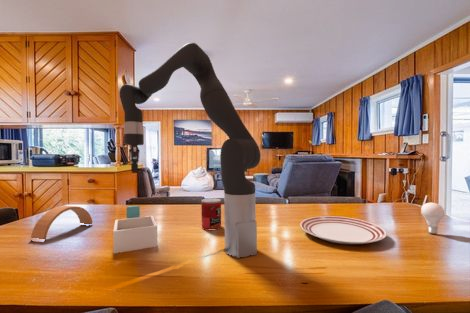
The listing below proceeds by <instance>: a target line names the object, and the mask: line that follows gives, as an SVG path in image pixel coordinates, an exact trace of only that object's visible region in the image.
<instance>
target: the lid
mask: <svg viewBox="0 0 470 313" xmlns="http://www.w3.org/2000/svg"><path fill="white" fill-rule="evenodd" d="M137 217H141V212H140V205H139V204H138V205H129V206H126V219H128V218H137Z"/></svg>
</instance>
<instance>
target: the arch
mask: <svg viewBox="0 0 470 313" xmlns="http://www.w3.org/2000/svg"><path fill="white" fill-rule="evenodd" d="M68 211H72V212H73V213H75V215H76V216H77V218H78V220H79V224H80V223H84V224H92V223H93V218H92V215H91V214H90V213H89V212H88V211H87V209H85V208H83V207H81V206H73V205H71V206H70V205H59V206H56V207H53V208H52V209H49V210H48V211H46V212H45V213H44V214H42V215H41V216H40V218H39V219H38V220H37V221H36V223H35V225H34V227H33V229H32V232H31V235H30V239H31V238H39V239H46V240H47V236H48V232H49V230H50V227H51V226H52V224H53V222H54V221H55V220H56V219H57V218H59V216H60V215H62V214H64V213H65V212H68Z"/></svg>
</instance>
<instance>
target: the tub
mask: <svg viewBox="0 0 470 313" xmlns="http://www.w3.org/2000/svg"><path fill="white" fill-rule="evenodd" d="M123 228H131V229H124V230H122V229H123ZM112 232H113V233H112V235H113V237H112V238H113V239H112V240H113V254H118V253H119V252H120V253H123V252H131V251H137V250H142V249H143V250H144V249H149V248H154V247H158V225H157V222H156V220H155V218H154V216H153V215H147V216H140V217H137V218H128V219H127V218H121V219H115V221H114V226H113V231H112Z"/></svg>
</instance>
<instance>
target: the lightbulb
mask: <svg viewBox="0 0 470 313" xmlns="http://www.w3.org/2000/svg"><path fill="white" fill-rule="evenodd" d="M420 212H421V215H422V216H423V218H424V219H425V221H426V224H427V232H428V233H430V234H431V235H436V234H438V233H439V232H438V229H439V228H438V227H439V224H440V222H441V220H442V219H443V218H444V217H445V215H446V214H445V209H444V207H443V206H442V205H440V204H439V203H436V202H426V203H424V204H423V205H422V206H421V208H420Z"/></svg>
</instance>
